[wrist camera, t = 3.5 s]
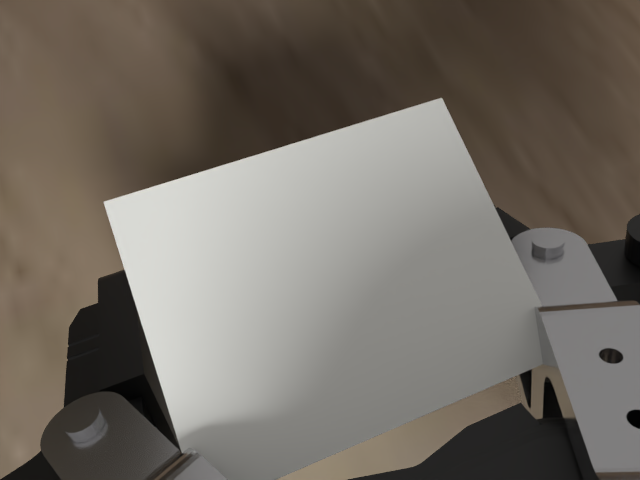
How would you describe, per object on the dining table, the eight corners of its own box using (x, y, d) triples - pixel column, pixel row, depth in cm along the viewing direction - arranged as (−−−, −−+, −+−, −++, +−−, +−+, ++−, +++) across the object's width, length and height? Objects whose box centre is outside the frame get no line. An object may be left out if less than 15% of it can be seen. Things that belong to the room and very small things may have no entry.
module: (342, 260, 18) (442, 98, 8) (391, 380, 17) (566, 354, 7) (189, 314, 17) (103, 201, 7) (233, 446, 16) (199, 512, 6)
